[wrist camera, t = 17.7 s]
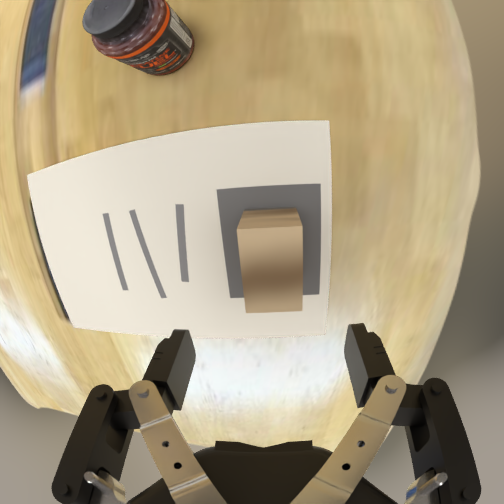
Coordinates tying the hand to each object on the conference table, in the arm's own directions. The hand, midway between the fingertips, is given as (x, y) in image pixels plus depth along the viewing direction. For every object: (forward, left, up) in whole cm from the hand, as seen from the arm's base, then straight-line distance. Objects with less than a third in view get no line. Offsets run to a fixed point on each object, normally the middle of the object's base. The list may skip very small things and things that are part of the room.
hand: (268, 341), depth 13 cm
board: (0, -11, -15) cm, 18 cm away
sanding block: (0, 0, -13) cm, 13 cm away
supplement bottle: (-20, -8, -15) cm, 26 cm away
